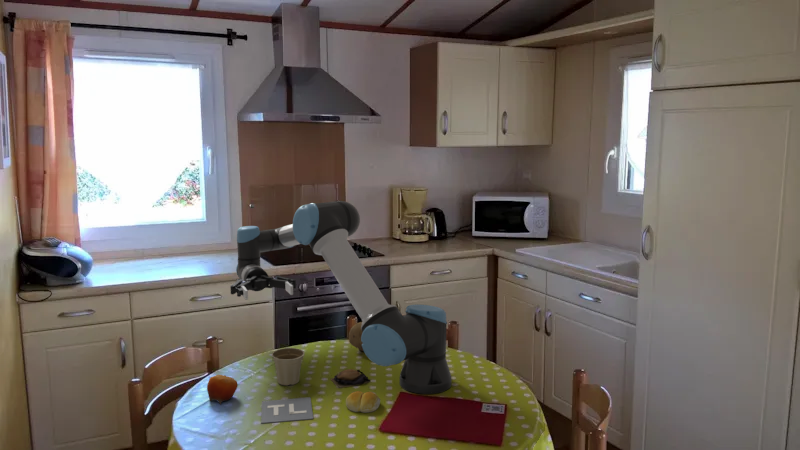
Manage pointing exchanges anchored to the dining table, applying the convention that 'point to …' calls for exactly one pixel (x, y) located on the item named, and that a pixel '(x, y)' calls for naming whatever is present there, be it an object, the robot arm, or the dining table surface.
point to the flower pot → (288, 365)
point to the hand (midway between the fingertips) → (269, 292)
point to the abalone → (350, 378)
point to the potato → (356, 336)
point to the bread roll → (362, 402)
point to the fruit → (221, 388)
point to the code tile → (286, 410)
